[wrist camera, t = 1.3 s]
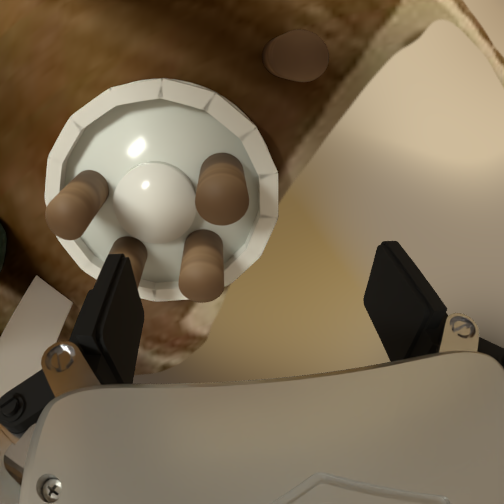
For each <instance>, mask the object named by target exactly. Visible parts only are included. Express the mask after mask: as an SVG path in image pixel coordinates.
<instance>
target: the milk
mask: <svg viewBox="0 0 504 504" xmlns="http://www.w3.org/2000/svg"><path fill="white" fill-rule="evenodd" d="M72 304H73V302H72V301H70V300H69V299H67V298H66V297H65V296H63V295H62V294H61V293H59V292H58V291H57V290H55V289H54V288H53V287H51V286H50V285H49V284H47V283H46V282H45V281H44V280H42V279H41V278H40V277H38V276H37V275H36V276H35V278H34V279H33V281H32V283H31V284H30V286H29V287H28V289H27V291H26V292H25V294H24V296H23V297H22V299H21V301H20V302H19V304H18V306H17V308H16V309H15V311H14V313H13V315H12V316H11V318H10V320H9V322H8V324H7V326H6V327H5V329H4V331H3V333H2V335H1V337H0V398H1V397H2V396H3V395H4V394H5V393H7V392H8V391H10V390H11V389H13V388H14V387H16V386H17V385H19V384H20V383H22V382H23V381H25V380H26V379H28V378H29V377H31V376H32V375H34V374H35V373H37V372H38V371H40V370H41V369H42V366H41V359H42V356H43V354H44V352H45V351H46V350H47V348H48V347H50V346H51V345H53V344H55V343H56V342H57V339H58V337H59V334H60V332H61V329H62V327H63V325H64V322H65V320H66V318H67V315H68V313H69V311H70V309H71V306H72Z"/></svg>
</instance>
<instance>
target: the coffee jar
mask: <svg viewBox="0 0 504 504" xmlns="http://www.w3.org/2000/svg"><path fill="white" fill-rule="evenodd" d="M6 241H7V238H6V232H5V230H4V228H3V226H2V225H1V223H0V272H1V269H2V266H3V263H4V259H5V253H6Z"/></svg>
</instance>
